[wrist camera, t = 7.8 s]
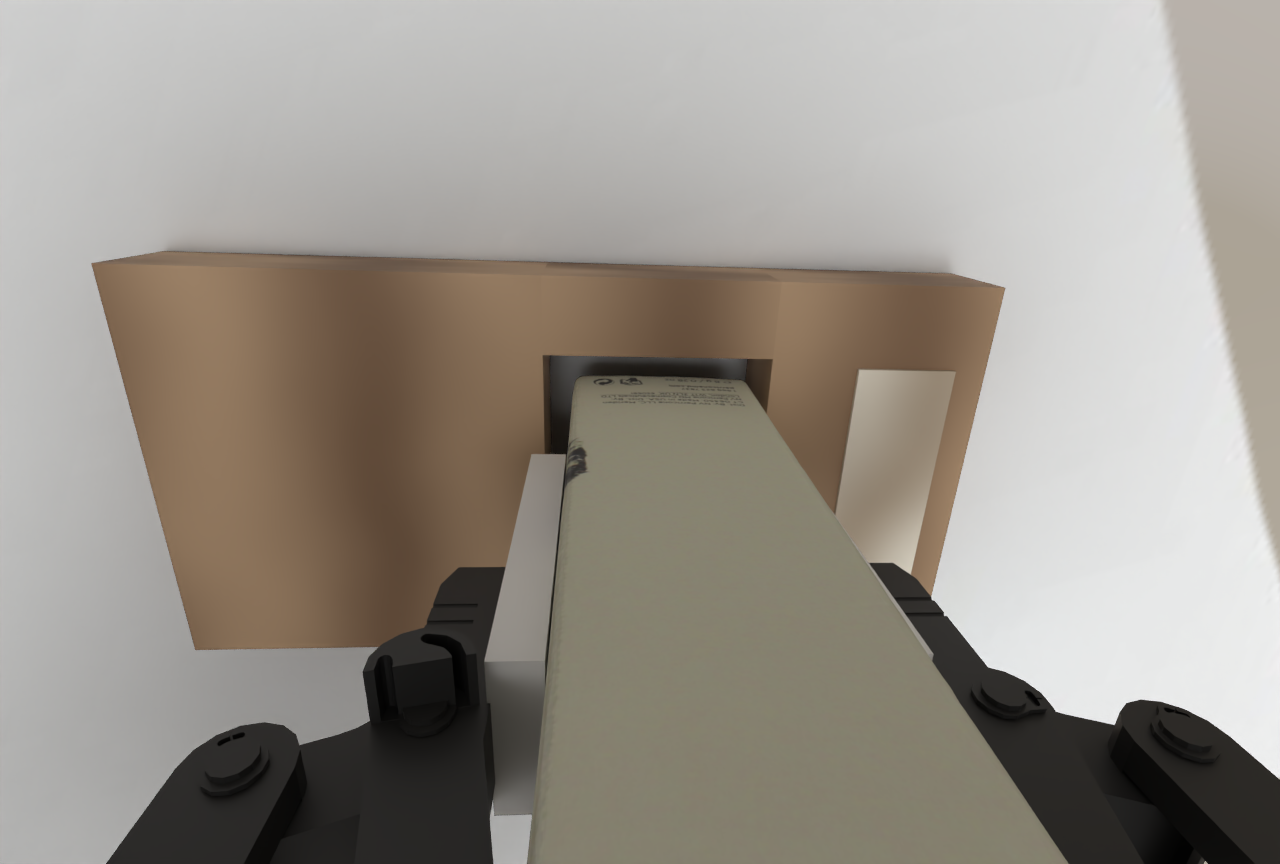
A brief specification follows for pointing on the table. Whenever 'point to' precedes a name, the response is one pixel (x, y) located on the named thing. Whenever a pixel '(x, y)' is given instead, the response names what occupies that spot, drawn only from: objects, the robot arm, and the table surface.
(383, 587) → the brown flat wooden slab
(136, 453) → the table surface
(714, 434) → the box
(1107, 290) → the table surface
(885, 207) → the table surface
